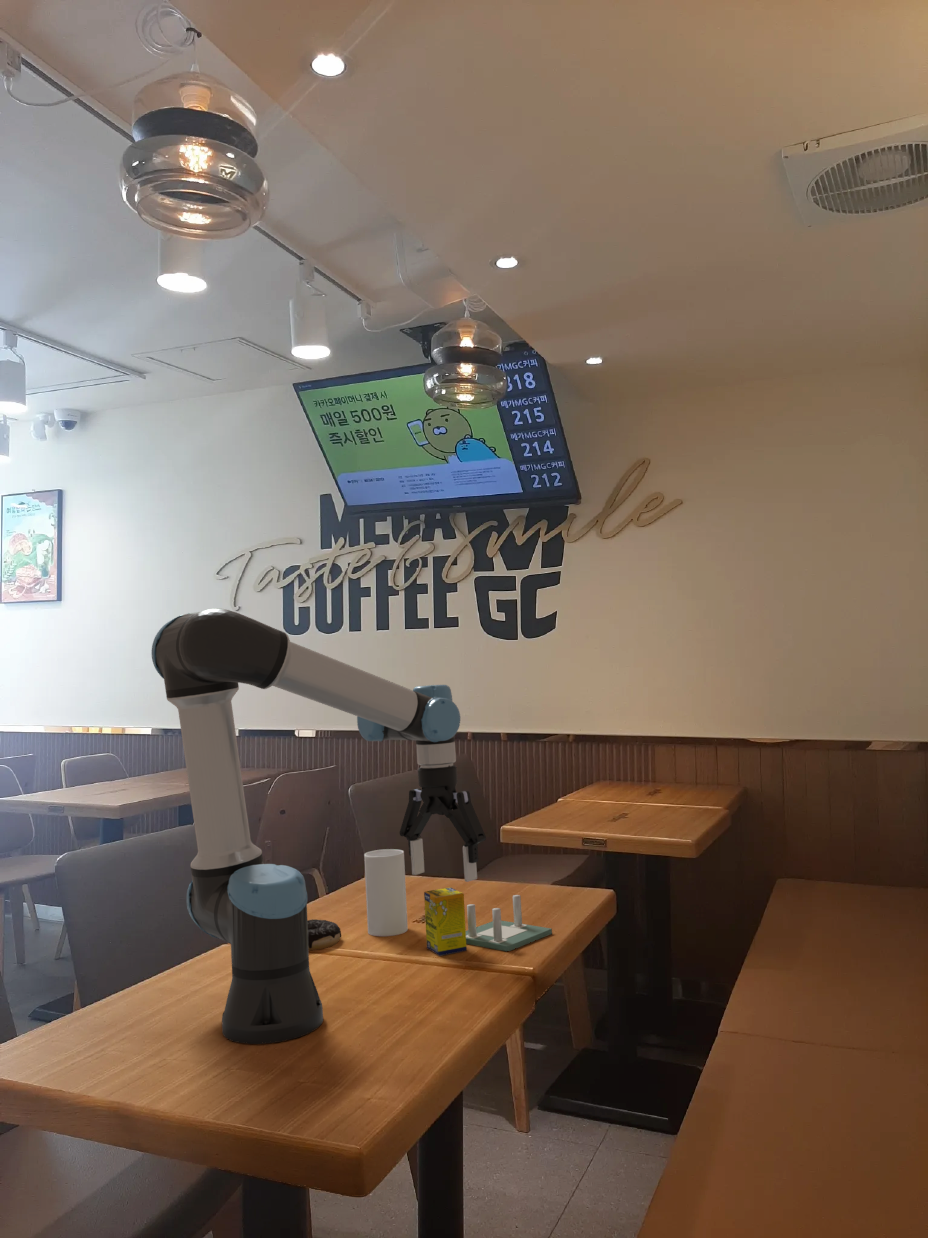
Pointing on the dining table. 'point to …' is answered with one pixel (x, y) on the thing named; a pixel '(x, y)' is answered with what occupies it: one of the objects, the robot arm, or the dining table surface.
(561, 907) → the dining table surface
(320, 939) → the donut
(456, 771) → the robot arm
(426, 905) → the supplement box
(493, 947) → the header board
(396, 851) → the cup
